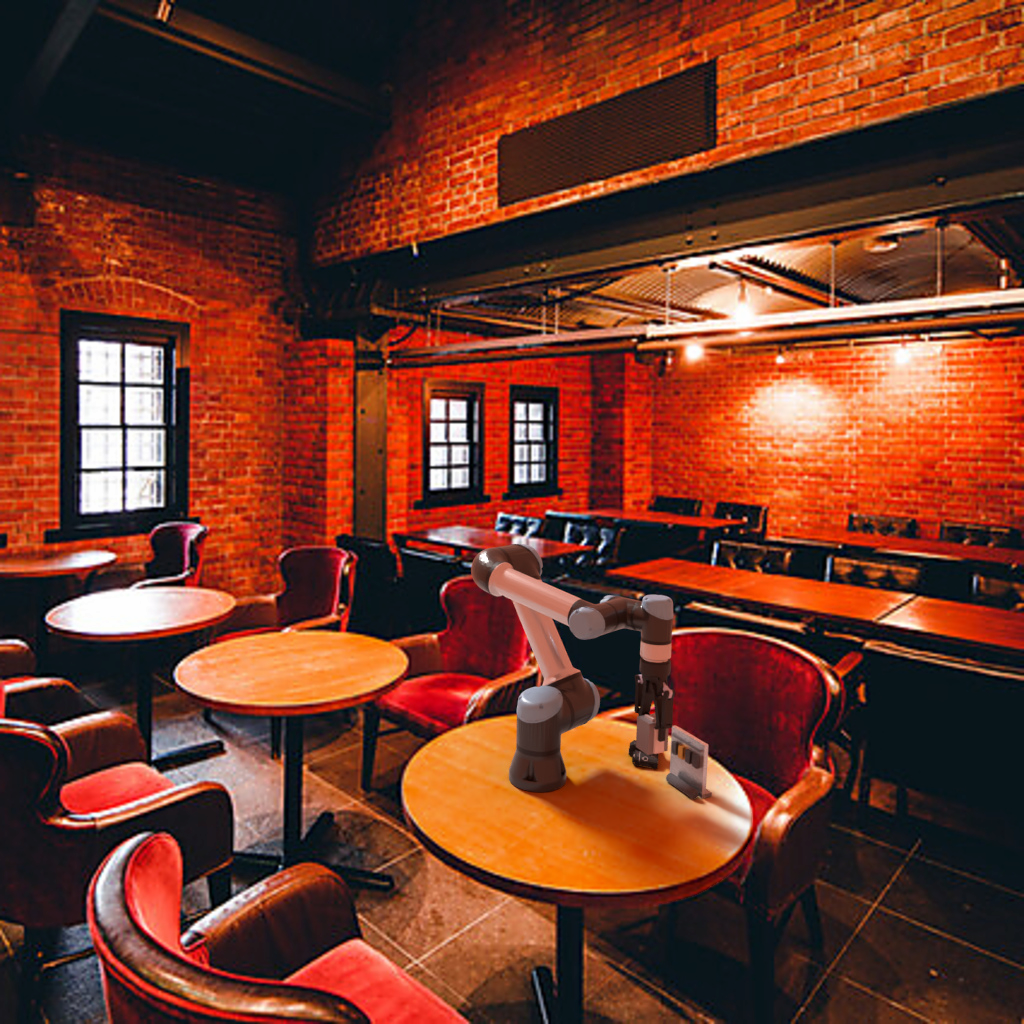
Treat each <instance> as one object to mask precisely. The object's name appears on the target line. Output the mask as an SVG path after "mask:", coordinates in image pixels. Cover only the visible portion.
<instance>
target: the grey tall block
mask: <svg viewBox="0 0 1024 1024" xmlns="http://www.w3.org/2000/svg"><path fill="white" fill-rule="evenodd" d="M656 726H657V725H656V716H655V712H654V713H650V714H645V715H643V716H639V715H637V716H636V736H635V738H636V739H635V740H636V747H637V748H638V749H640V750H641V751H643V752H644V753H646V754H647V755H650V754H654V753H653V744H654V727H656ZM669 730H670V728H668V729H666V735H665V741H664V752H668V747H669Z"/></svg>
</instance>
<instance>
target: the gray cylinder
mask: <svg viewBox="0 0 1024 1024" xmlns="http://www.w3.org/2000/svg"><path fill="white" fill-rule="evenodd" d="M665 779H666V781H667V783H669V784H670V785H672V786H674V787H675V788H676V789H677V790H679V791H680V792H682V793H684V794H685V795H686V796H688V797H689V798H690V799H691V800H696V799H697V798H698V797H699V796H698V791H697V790H696V789H694V788H693V787H691V786H690V785H688V784H687V783H686V782H684V781H683V780H681V779H680V778H678V777H677V776H675V775H674V774H672V773H670V772H669V773H668V774H667V775H666V777H665Z"/></svg>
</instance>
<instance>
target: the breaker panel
mask: <svg viewBox="0 0 1024 1024" xmlns="http://www.w3.org/2000/svg"><path fill="white" fill-rule="evenodd" d="M708 760H709V744H708V743H706V742H705V741H703V740H701V739H699V738H698V737H696V736H695V735H693V734H691V733H690V732H688V731H686V730H685V729H684V728H681V727H680V726H677V725H672V728H671V742H670V759H669V763H670V764H669V773H672V774H674V775H675V776H677V777H678V778H680V779H681V780H683V781H684V782H686V783H687V784H688V785H690V786H691V787H693V788H694V789H696V790H697V791H698V797H699V798H700V799H705V798H709V797H712V796H713V792H712V791H710V790H709V789H707V780H708V779H707V777H708V762H709V761H708Z"/></svg>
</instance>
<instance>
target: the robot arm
mask: <svg viewBox="0 0 1024 1024" xmlns="http://www.w3.org/2000/svg"><path fill="white" fill-rule="evenodd" d="M543 567H544V565H543V559H542V557H541V555H540V554H539V552H538V551H537V549H536V548H534V547H533V546H531V545H528V544H526V543H513V544H509V545H501V546H497V547H496V546H495V547H488V548H485V549H483V550H481V551H480V552H478V554H477V553H476V555H475V556H474V559H473V560H472V564H471V567H470V572H471V574H470V575H471V577H472V579H473V582H474V584H475V585H477V587H478V588H479V589H481V590H483V591H484V592H486V593H488V594H489V595H492V596H494V597H502V596H503V597H505V598H506V599H510V600H511V602H512V603H513V606H514V608H515V610H516V614H517V616H518V619H519V621H520V623H521V625H522V628H523V630H524V633H525V635H526V638H527V641H528V643H529V645H530V648H531V650H532V652H533V655H534V657H535V659H536V662H537V664H538V666H539V670H540V672H541V674H542V677H543V682H542V685H540V686H533V687H529V688H527V689H525V690H524V691H522V692H521V693H520V695H519V696H518V700H517V707H516V744H515V745H516V747H515V752H514V754H513V757H512V760H511V762H510V763H511V764H510V766H509V768H508V779H509V782H510V783H511V784H512V786H514V787H516V788H518V789H520V790H524V791H527V792H533V793H546V792H547V793H548V792H551V791H552V792H553V791H556V790H558V789H561V788H562V787H563V786H564V785H566V782H567V769H566V766H565V762H564V759H563V755H562V752H561V750H562V749H561V748H562V747H561V745H562V744H561V743H562V735H563V734H564V733H567V732H569V731H571V730H574V729H576V728H578V727H580V726H584V725H586V724H587V723H588V722H590V721H592V720H593V719H594V718H595V717H596V716H597V714H598V713H599V708H600V707H601V706H600V704H601V703H600V702H601V700H600V699H601V698H600V693H599V691H598V688H597V686H596V685H595V684H594V683H593V682H592V681H590V680H589V679H587V678H584V677H583V674H582V672H581V670H580V669H577V668H575V667H574V666H573V665H572V662H571V660H570V657H569V655H568V653H567V651H566V648H565V645H564V643H563V640H562V639H561V636H560V634H559V632H558V629H557V626H556V624H555V622H554V620H555V621H557V622H559V623H561V624H563V625H565V626H568V627H569V630H570V632H571V633H572V634H573V635H574V637H576V638H577V639H579V640H586V641H587V640H591V639H592V640H593V639H596V638H598V637H600V636H603V635H606V634H609V633H613V632H615V631H618V630H622V629H628V630H631V631H632V630H633V631H635V632H640V650H639V655H640V658H639V672H640V673H641V674H635V675H634V681H635V692H634V693H635V694H634V708H633V709H634V714H637V715H638V716H643V715H645V714H651V709H652V704H653V706H654V713H655V716H656V725H657V726H656V727H654V744H653V753H654V754H657V753H658V754H660V753H662V754H663V753H664V752H665V751H664V741H665V735H666V729H668V728H669V729H672V726H673V719H674V718H673V717H674V698H675V695H676V689H671V688H670V687H669V686H668V677H669V676H670V675H671V671H672V670H671V669H672V668H671V667H672V664H671V663H672V661H671V660H670V659H671V658H672V640H673V623H674V622H673V621H674V615H675V614H674V602H673V599H672V598H671V597H669V596H667V595H663V594H647V595H644V596H643V598H642V600H637V599H632V598H628V597H624V596H621V595H610V594H609V595H608V594H607V595H605V596H603V598H602V599H600V601H599V603H592V602H590V601H587V600H584V599H582V598H580V597H578V596H576V595H573V594H571V593H569V592H566V591H564V590H562V589H559V588H557V587H555V586H553V585H550V584H548V583H546V582H543V580H542V577H541V575H542V574H543V569H542V568H543ZM669 729H668V730H669Z"/></svg>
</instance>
